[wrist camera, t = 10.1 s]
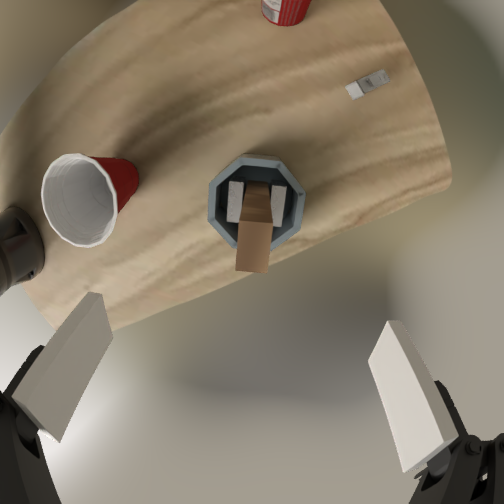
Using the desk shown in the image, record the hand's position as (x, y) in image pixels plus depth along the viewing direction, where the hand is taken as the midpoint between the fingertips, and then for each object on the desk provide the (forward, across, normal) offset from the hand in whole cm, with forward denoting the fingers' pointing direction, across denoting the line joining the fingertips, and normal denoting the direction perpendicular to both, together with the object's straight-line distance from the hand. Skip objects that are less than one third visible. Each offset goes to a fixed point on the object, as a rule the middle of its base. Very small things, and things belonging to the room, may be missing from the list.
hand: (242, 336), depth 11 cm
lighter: (+26, +11, +16) cm, 33 cm away
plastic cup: (+26, -19, +1) cm, 32 cm away
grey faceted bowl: (+26, 0, 0) cm, 26 cm away
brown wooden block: (+25, 0, 0) cm, 25 cm away
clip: (+26, 0, 0) cm, 26 cm away
